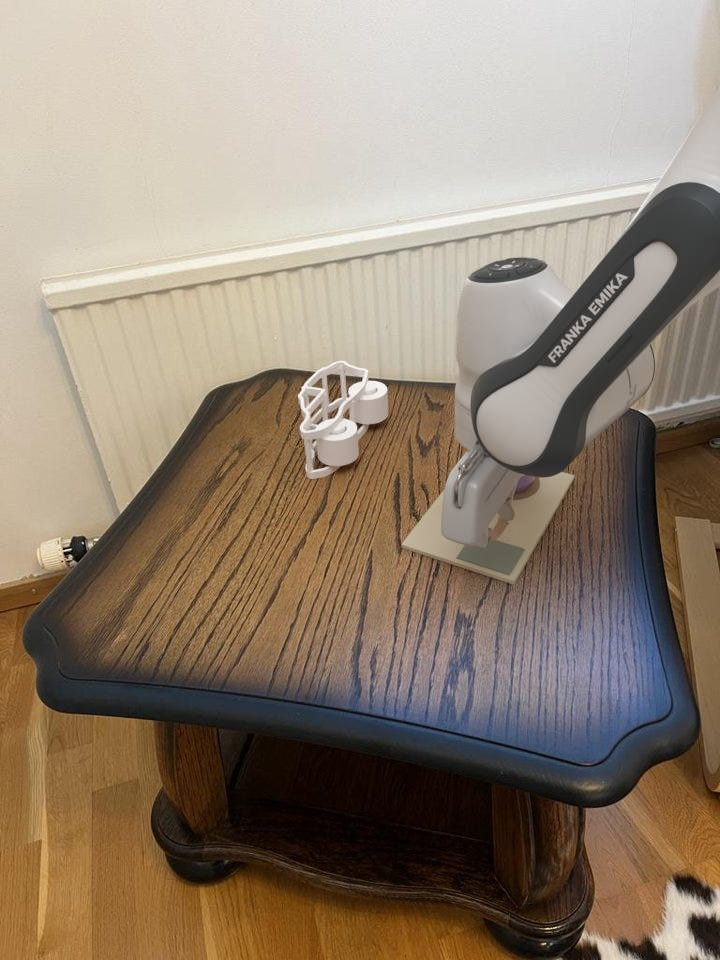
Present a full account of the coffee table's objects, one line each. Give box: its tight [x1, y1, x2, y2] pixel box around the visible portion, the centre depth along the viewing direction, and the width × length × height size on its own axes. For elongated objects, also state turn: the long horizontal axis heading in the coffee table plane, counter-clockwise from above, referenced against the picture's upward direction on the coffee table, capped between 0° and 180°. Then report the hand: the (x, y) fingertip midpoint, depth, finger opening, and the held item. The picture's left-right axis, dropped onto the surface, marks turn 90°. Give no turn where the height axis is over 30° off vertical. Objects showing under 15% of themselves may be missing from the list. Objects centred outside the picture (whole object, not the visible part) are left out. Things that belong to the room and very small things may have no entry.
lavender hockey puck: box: [514, 474, 535, 493], centre depth 97 cm, size 6×6×3 cm
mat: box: [400, 471, 576, 585], centre depth 94 cm, size 14×22×1 cm, turn 150°
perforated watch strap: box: [489, 501, 515, 542], centre depth 84 cm, size 3×5×5 cm, turn 132°
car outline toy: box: [297, 360, 389, 480], centre depth 107 cm, size 20×11×7 cm, turn 157°
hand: (492, 525), depth 84 cm, fingers closed on perforated watch strap, 5 cm apart
